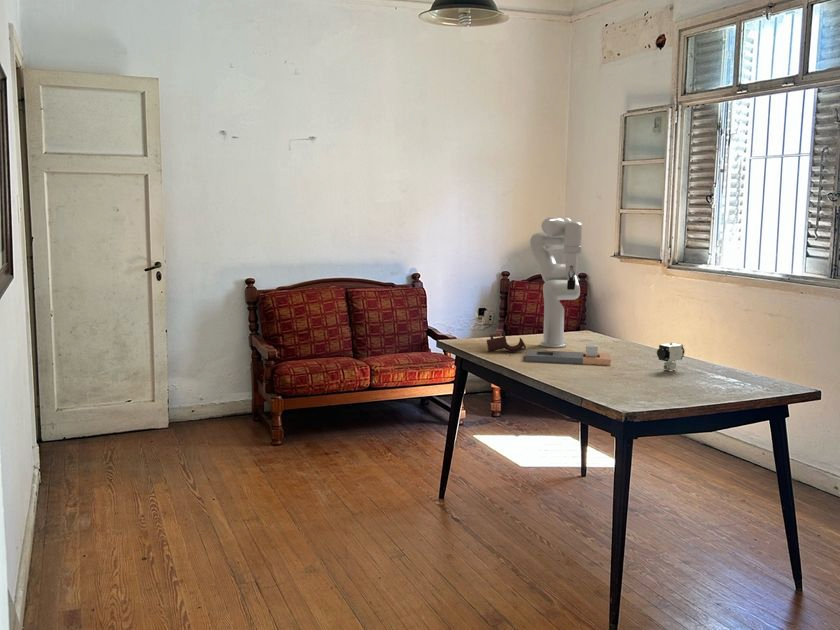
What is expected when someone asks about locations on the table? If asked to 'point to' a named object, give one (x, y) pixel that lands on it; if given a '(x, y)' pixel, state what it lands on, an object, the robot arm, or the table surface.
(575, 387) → the table surface
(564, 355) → the grey copper flat plate
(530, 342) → the table surface
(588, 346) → the grey rectangular block
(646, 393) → the table surface
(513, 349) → the bracket
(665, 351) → the pneumatic valve
